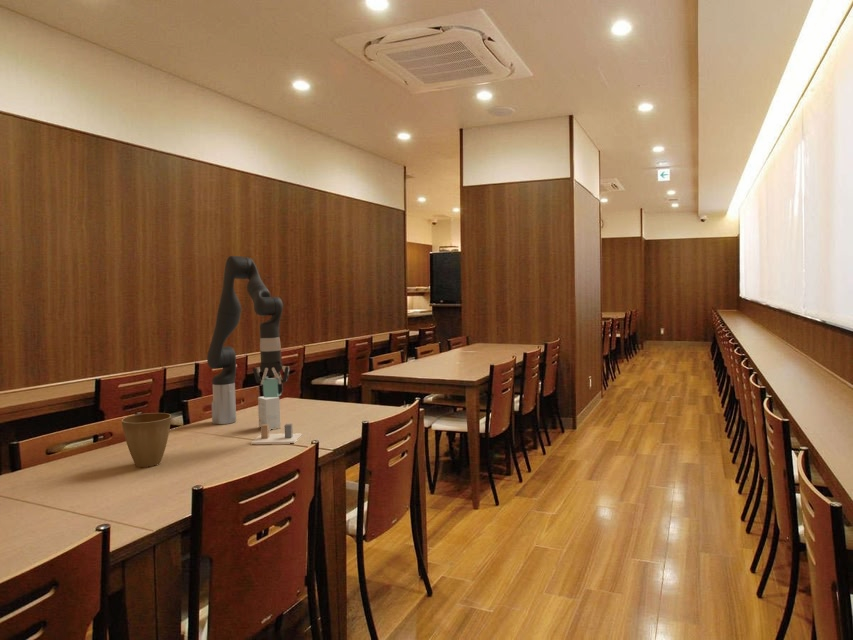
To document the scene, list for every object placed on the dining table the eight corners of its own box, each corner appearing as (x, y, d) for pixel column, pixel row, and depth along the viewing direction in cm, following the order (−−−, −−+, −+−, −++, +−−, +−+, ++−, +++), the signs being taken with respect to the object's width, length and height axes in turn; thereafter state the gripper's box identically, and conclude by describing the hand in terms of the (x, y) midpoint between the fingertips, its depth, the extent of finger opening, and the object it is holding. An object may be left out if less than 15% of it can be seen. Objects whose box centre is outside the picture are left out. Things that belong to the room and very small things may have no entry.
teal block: (263, 397, 213) (262, 380, 213) (267, 395, 218) (267, 378, 218) (277, 397, 213) (276, 379, 213) (281, 394, 218) (280, 377, 218)
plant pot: (118, 473, 180) (116, 424, 179) (129, 460, 195) (127, 414, 194) (169, 468, 184) (167, 420, 183) (176, 456, 199) (174, 411, 198)
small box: (280, 428, 236) (279, 397, 235) (266, 431, 232) (265, 399, 231) (272, 425, 242) (271, 394, 242) (258, 427, 238) (257, 396, 238)
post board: (251, 444, 211) (250, 429, 211) (261, 436, 223) (260, 421, 223) (294, 444, 211) (293, 428, 211) (301, 435, 223) (301, 420, 223)
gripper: (291, 348, 218) (293, 391, 219) (255, 349, 219) (257, 392, 219) (286, 349, 211) (288, 395, 212) (248, 351, 211) (250, 396, 212)
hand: (272, 393), depth 216 cm, fingers closed on teal block, 5 cm apart
